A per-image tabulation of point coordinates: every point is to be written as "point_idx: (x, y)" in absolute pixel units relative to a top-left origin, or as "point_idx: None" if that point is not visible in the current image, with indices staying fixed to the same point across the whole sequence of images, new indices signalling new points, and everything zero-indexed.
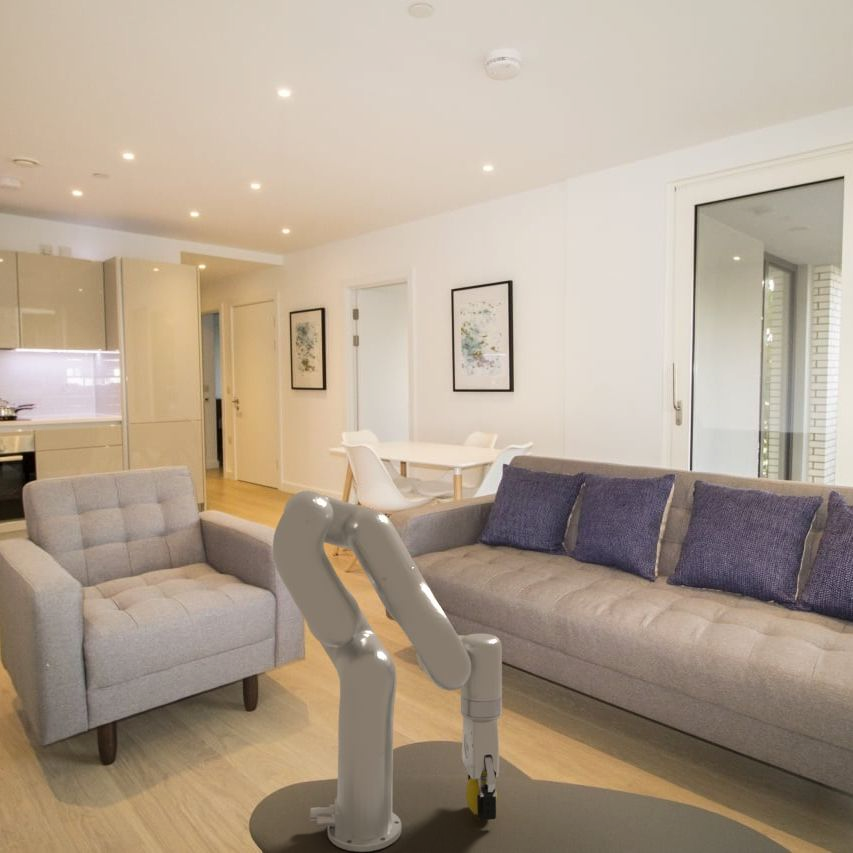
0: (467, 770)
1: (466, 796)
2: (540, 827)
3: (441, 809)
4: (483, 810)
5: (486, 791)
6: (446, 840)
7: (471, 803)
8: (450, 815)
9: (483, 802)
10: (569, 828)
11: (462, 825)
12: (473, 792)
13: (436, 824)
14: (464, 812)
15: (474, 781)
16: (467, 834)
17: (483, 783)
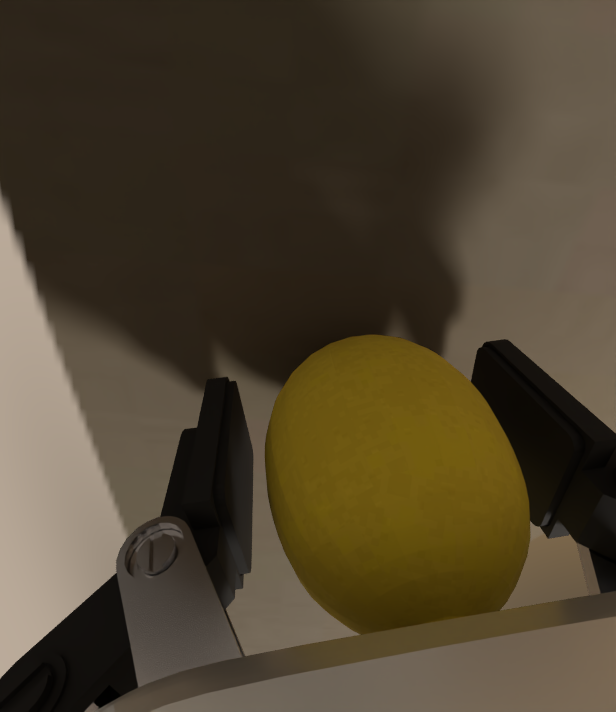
0: (420, 664)
1: (375, 361)
2: (255, 543)
3: (490, 119)
4: (177, 452)
5: (3, 683)
6: (44, 118)
7: (300, 379)
8: (395, 186)
9: (164, 501)
10: (251, 596)
11: (265, 259)
12: (305, 456)
13: (278, 44)
14: (413, 283)
15: (359, 542)
16: (161, 282)
17: (313, 591)
